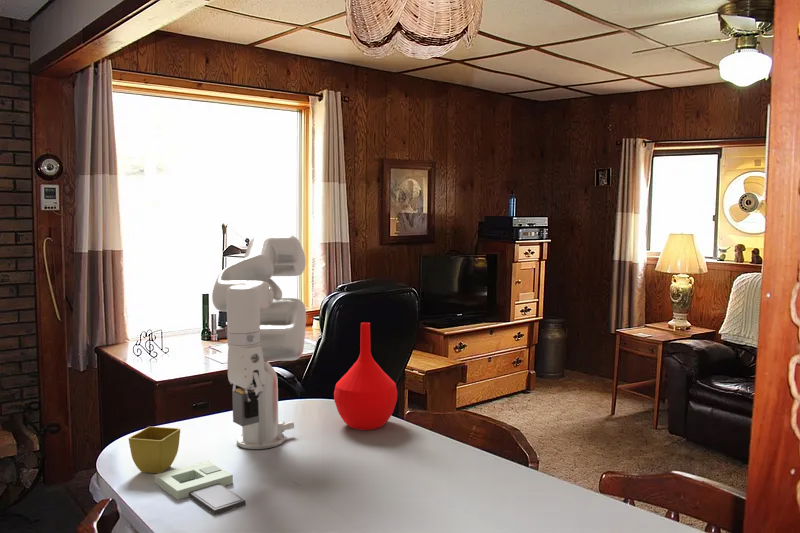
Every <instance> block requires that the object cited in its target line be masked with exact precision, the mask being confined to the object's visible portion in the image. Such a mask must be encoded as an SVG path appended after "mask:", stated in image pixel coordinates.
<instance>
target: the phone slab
mask: <svg viewBox="0 0 800 533" xmlns="http://www.w3.org/2000/svg"><path fill="white" fill-rule="evenodd" d="M189 498H190V499H192V500H193V501H194V502H196V503H197V504H199V505H200V506H201V507H203V508H204V509H206V510H207V511H208V512H209V513H211V514H213V515H214V516H215V515H219V514H223V513H225V512H228V511H232V510H234V509H237V508H240V507H242V506H246V501H247V500H246V499H244V498H242V497H241V496H239V495H238V494H237V493H235V492H233V491H232V490H230V489H229V488H227V487H225V486H222V485H221V484H219V483H218V484H214V485H211V486H208V487H204V488H201V489H198V490H194V491H191V492H189Z"/></svg>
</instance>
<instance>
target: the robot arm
mask: <svg viewBox="0 0 800 533" xmlns="http://www.w3.org/2000/svg"><path fill="white" fill-rule="evenodd" d="M247 245H248V246H247V248H246V251H245V254H244V257H243V259H242V258H241V259H240V260H238V261H236V262H234V263H231V264H230V265H229V266H228V265H227V267H225V268H224V269H222V270H221V271H220V272H219V274H218V275H217V279H216V280H215V282H214V286H213V288H212V289H213V290H212V292H211V293H212V296H211V298H212V303H213V306H214V308H215V309H216V310H218V311H219V312H225V313H226V327H227V328H226V330H227V331H226V334H227V335H226V337H227V349H228V350H227V378H228V379H227V380H228V382H229V384H230V387H231V388H232V391H236V389H238V388H244V389H245V396H246V401H245V418H247V419H248V418H252V417H256V416H258V400H259V422H258V423H254V424H250V425H246V426H243V427H242V426H241V427H242V429H241V430H242V434H240V435H238V437H237V438H236V445H237V446H238V447H240V448H242V449H247V450H265V449H270V448H275V447H277V446H279V445H282V444H283V443H284V442H285V439H286V438H285V435H284V432H285V431H286V430H287V431H288V430H293V429H295V423H294V422H293V421H289V422H286V423H285V421H279V388H278V385H279V383H278V381H279V380H278V379H279V378H278V374H277V372H276V371H275V369H274V367H273V366H272V365H271V364H270V362H279V361H280V362H283V361H288V362H289V361H296V360H298V359H300V358H301V357H302V355H303V352H304V349H305V348H304V347H305V339H306V338H305V337H306V326H307V325H306V324H307V312H306V311H307V309H306V305H305V304H304V302H303V301H302V299H301V300H300V299H298V298H293V297H287V298H285V297H284V298H283V292H282V289H281V288H280V286H279V285H278V284H277V283H276V282H275V280H273V279H271V278H272V277H297V276H300V275H302V274H303V273H304V271H305V268H306V255H305V251H304V249H303V247H302V244H301V242H300V240H299V239H298V237H296V236H294V235H292V234H262V235H257V236H253V238H252V239H251V240H250V241H249V243H248V244H247ZM250 390H254V391H253V392H251V394H250V392H249V391H250Z"/></svg>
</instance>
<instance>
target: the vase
mask: <svg viewBox="0 0 800 533" xmlns="http://www.w3.org/2000/svg"><path fill="white" fill-rule="evenodd" d="M371 343H372V342H371V322H360V343H359V346H360V348H359V349H360V351H359V352H360V353H359V356H358V358H357V360H356V361H355V362H354V363H353V365H352V366H351V367H350V368H349V369H348V371H347V372H346V373H344V375H343V376H341V378H340V379H339V380H338V381H337V382H336V384H335V386H334V391H333V399H334V400H333V401H334V403H335V407H336V409H337V412H338V415H339V416H340V418H341V420H342V421H343V422H344V423H345V424H346V425H347V426H348V427H349V428H351V429H353V430H354V429H355V430H362V431H370V430H376V429H379V428H381V427H382V428H383V426H384V425H385V424H386V423H387V422H388V421H389V420H390V418H391V417H392V415H393V413H394V410H395V407H396V405H397V404H396V403H397V401H398V389H397V384H396V382H395V381H394V380H393V379H392V378H391V377H390V376H389V375H388V374H387V373H386V372H385V371H384V370H383V369H382V368H381V366H380V365H379V364H378V363H377V362H376V360H375V359H374V358H373V356H372V352H371V351H372V350H371V348H372V347H371V345H372V344H371Z"/></svg>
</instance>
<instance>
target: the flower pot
mask: <svg viewBox="0 0 800 533" xmlns="http://www.w3.org/2000/svg"><path fill="white" fill-rule="evenodd" d="M180 436H181V428H178V427H177V428H176V427H165V426H164V427H163V426H147V427H146V428H144V429H142V430H141V431H139V432H137V433H135V434H133V435H131V436H130V437H128V444H129V448H130V456H131V458H132V461H133V463H134V465H135V466H136V468H137V469H138V470H139V471H140V472H142V473H149V474H160V473H163V472H165V471H166V470H167V469H168V468H170V467H171V466H172V464H174V461H175V459H176V457H177V455H178V451H179V448H180V447H179V446H180V438H181V437H180Z"/></svg>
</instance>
